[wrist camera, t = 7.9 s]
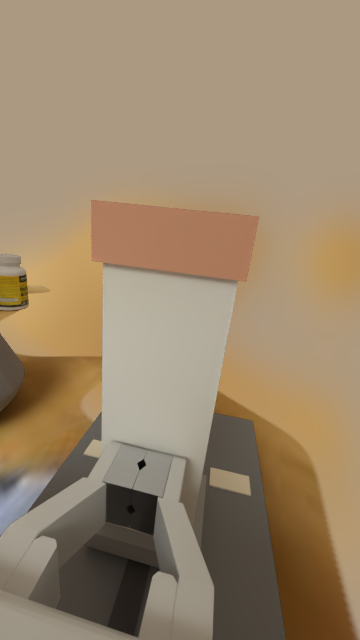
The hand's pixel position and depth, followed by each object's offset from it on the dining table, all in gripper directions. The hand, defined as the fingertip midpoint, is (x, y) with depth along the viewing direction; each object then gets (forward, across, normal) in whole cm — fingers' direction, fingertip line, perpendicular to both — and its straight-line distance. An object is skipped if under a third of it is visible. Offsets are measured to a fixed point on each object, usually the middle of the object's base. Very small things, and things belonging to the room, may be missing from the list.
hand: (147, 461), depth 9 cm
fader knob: (+1, 0, +5) cm, 5 cm away
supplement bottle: (+32, +37, +8) cm, 50 cm away
